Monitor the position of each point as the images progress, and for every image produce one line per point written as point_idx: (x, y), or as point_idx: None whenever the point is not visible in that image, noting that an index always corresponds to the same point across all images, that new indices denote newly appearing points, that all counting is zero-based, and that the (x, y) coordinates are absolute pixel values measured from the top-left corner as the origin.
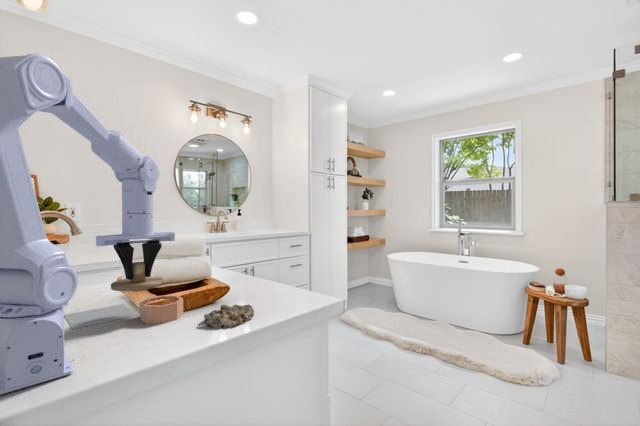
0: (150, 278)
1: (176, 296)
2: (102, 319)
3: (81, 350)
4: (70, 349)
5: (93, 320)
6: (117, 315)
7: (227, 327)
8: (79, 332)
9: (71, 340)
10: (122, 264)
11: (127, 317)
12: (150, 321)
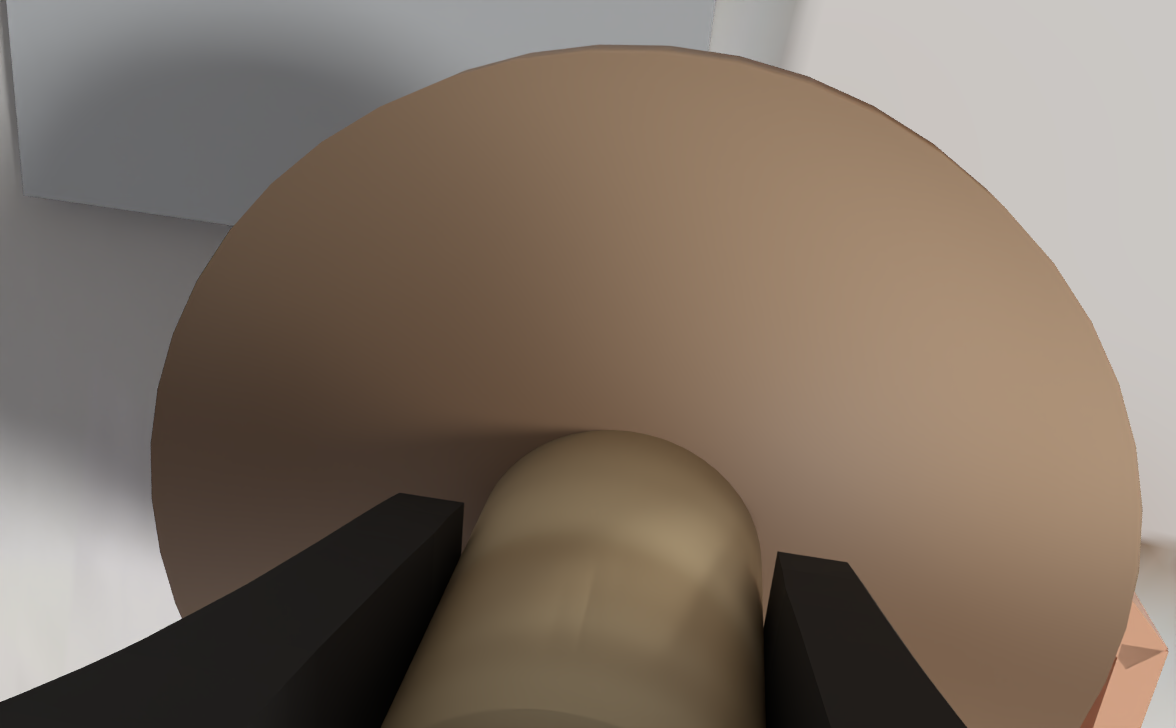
0: (951, 481)
1: (1119, 684)
2: (323, 102)
3: None
4: (8, 602)
5: (235, 51)
6: None
7: None
8: (94, 258)
9: (23, 417)
10: (171, 639)
11: None
12: None
